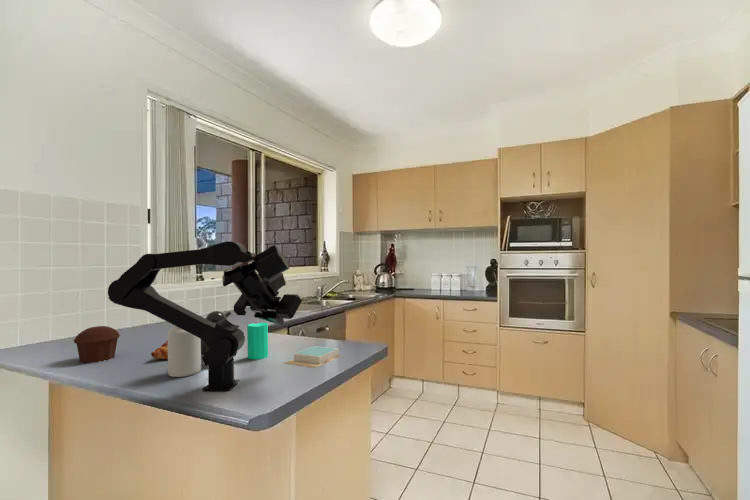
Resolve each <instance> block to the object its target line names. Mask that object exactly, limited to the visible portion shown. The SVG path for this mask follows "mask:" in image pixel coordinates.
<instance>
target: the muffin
mask: <svg viewBox="0 0 750 500" xmlns="http://www.w3.org/2000/svg"><path fill="white" fill-rule="evenodd" d="M120 336H121V334H120V333H119V331H118V330H117V329H115V328H113V327H111V326H106V325H97V326H91V327H87V328H86V329H84V330H82V331H81V332H79V333H78V334H77V335H76V336H75V337H74V340H73V343H74V344H76V347H77V352H78V359H79V363H80V362H84V363H83V364H91V363H90V362H95V363H100V362H99V361H102V362H105V361H104V360H106V361H109V359H110V360H112V359H115V355H116V350H117V344H118V339H119V338H120ZM111 358H112V359H111Z"/></svg>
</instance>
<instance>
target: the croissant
mask: <svg viewBox="0 0 750 500" xmlns="http://www.w3.org/2000/svg"><path fill="white" fill-rule="evenodd" d="M150 355H151V357H152V358H155V359H157V360H168V340H166V341H165V342H164V343H163V344H162V345H161V346H160V347H157V348H156V349H155V350H154V351H151V354H150Z"/></svg>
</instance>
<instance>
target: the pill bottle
mask: <svg viewBox="0 0 750 500" xmlns="http://www.w3.org/2000/svg"><path fill="white" fill-rule="evenodd" d="M167 340H168V359H167V372H168V376H170V377H172V378H183V377H190V376H193V375H195V374H199V373H200V372H201V370H202V361H201V339H200V338H198V337H196V336H194V335H193V334H191V333H189V332H187V331H185V330H183V329H181V328H179V327H177V326H175V325H173V324H172V328H171V329H169V330H168V332H167ZM167 340H166V341H167Z"/></svg>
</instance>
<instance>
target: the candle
mask: <svg viewBox="0 0 750 500" xmlns="http://www.w3.org/2000/svg"><path fill="white" fill-rule="evenodd" d="M256 321H257V323H250V324H247V327H246V328H247V329H246V330H247V331H246V332H247V333H246V335H247V339H246V341H247V342H246V343H247V359H248V360H261V359H262V360H263V359H267V358H268V357H269V330H268V329H269V324H268V323H267V322H259V318H257V319H256Z"/></svg>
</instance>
